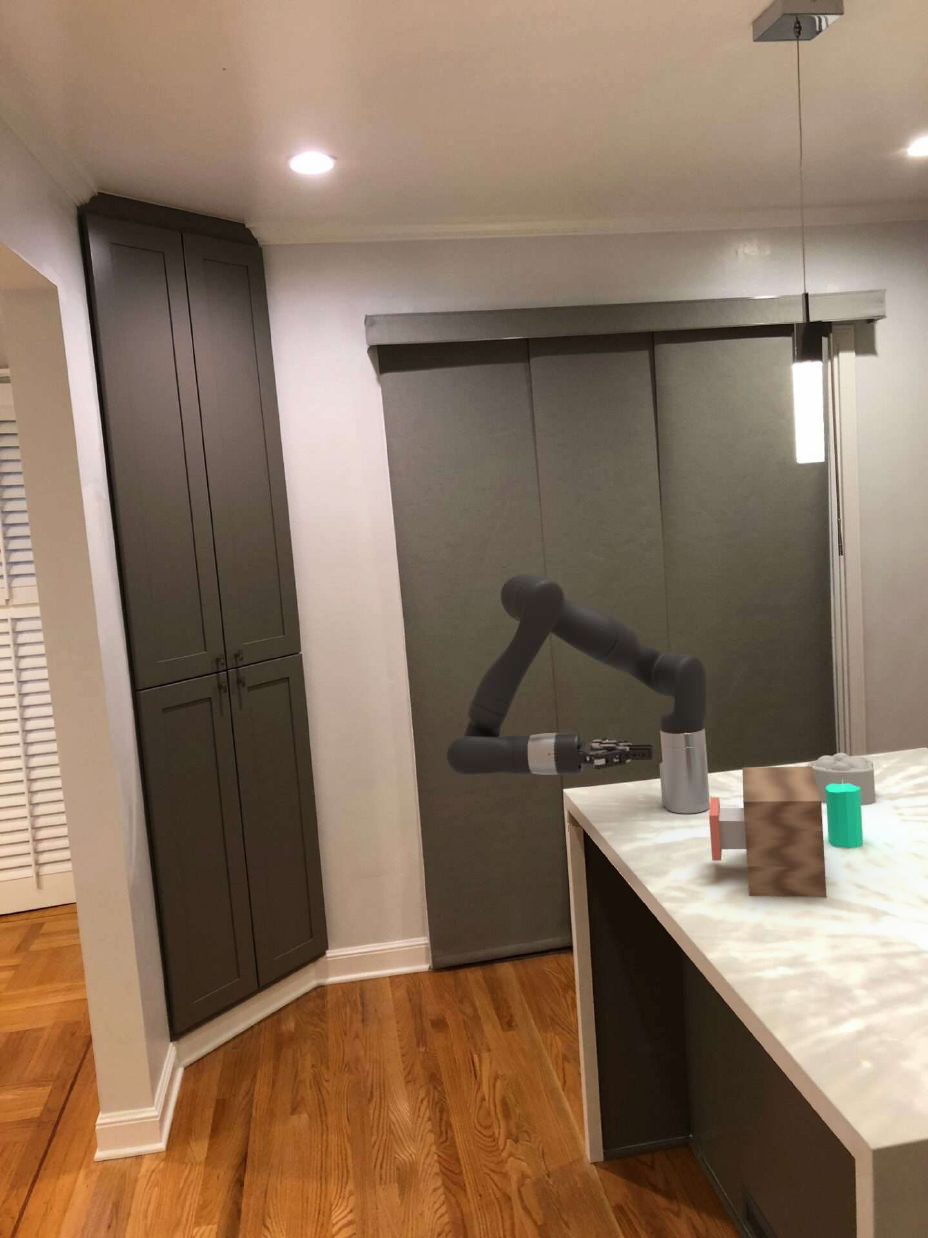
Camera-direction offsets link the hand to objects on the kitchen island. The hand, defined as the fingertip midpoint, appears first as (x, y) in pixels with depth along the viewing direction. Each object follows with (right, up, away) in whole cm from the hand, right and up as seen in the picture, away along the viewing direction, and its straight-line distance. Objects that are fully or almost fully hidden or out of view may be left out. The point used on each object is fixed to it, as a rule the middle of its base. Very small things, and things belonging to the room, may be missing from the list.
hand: (652, 751), depth 170 cm
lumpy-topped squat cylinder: (+46, -14, +33) cm, 59 cm away
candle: (+37, -18, +8) cm, 42 cm away
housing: (+22, -20, -3) cm, 30 cm away
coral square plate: (+15, -17, -2) cm, 23 cm away
